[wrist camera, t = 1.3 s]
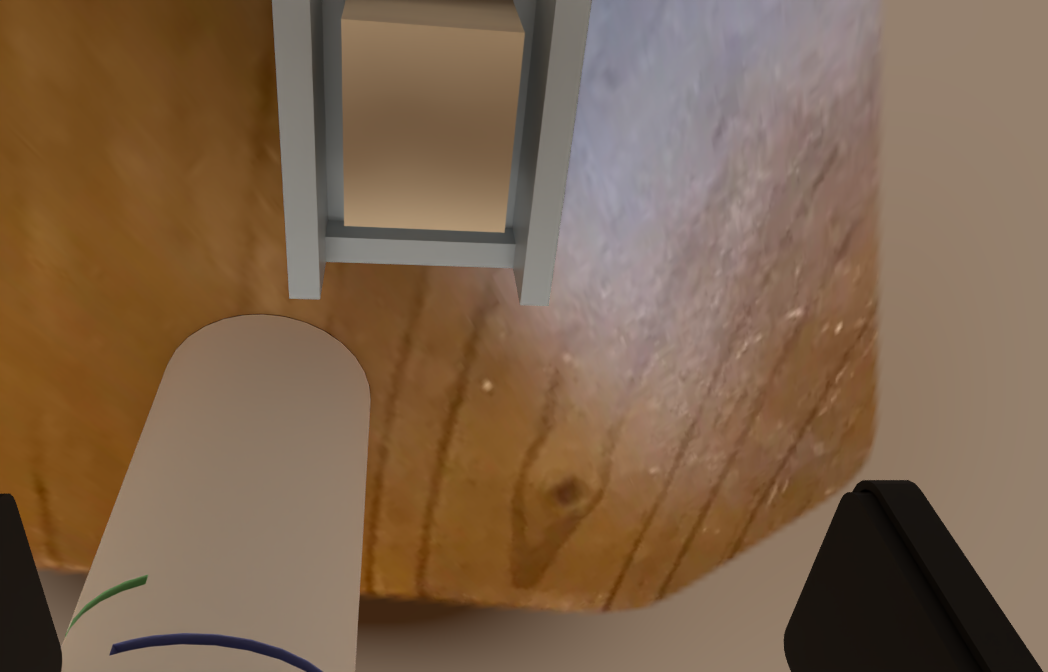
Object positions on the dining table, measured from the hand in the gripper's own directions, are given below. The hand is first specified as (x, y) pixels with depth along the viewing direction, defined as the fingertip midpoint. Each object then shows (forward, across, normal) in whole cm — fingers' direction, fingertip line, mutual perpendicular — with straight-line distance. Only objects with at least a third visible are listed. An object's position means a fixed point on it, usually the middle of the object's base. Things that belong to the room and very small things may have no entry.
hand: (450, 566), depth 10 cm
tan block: (+16, 0, 0) cm, 16 cm away
